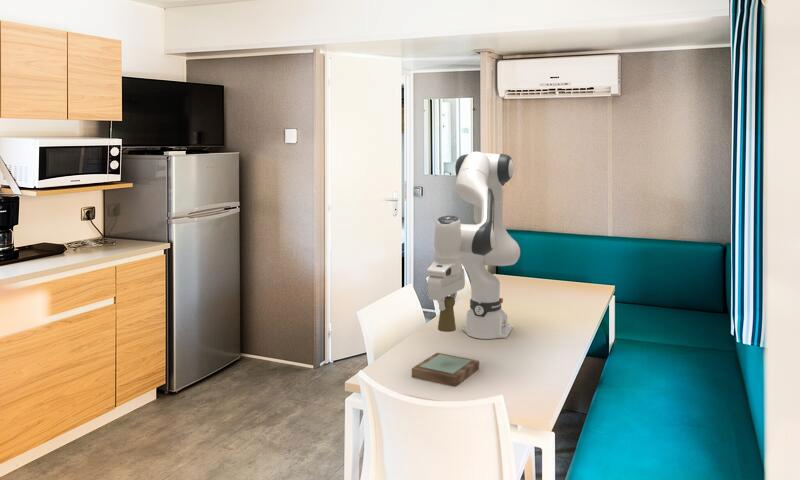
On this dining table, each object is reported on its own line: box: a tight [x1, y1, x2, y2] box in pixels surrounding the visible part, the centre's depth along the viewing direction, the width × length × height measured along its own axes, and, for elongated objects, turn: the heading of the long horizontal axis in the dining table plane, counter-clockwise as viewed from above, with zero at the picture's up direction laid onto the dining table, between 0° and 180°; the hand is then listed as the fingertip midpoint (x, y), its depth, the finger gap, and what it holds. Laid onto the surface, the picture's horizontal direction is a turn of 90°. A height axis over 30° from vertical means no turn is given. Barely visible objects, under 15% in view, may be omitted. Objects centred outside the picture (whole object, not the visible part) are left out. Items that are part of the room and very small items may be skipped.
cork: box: [437, 295, 457, 333], centre depth 214 cm, size 6×6×11 cm
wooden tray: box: [411, 352, 480, 387], centre depth 217 cm, size 18×16×3 cm
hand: (447, 307), depth 213 cm, fingers closed on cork, 5 cm apart
